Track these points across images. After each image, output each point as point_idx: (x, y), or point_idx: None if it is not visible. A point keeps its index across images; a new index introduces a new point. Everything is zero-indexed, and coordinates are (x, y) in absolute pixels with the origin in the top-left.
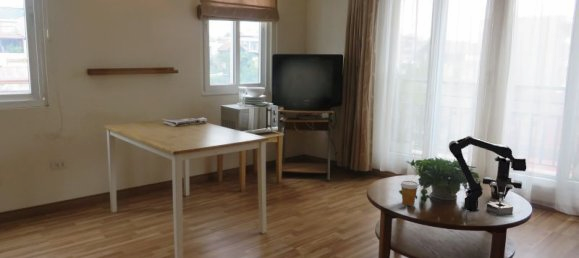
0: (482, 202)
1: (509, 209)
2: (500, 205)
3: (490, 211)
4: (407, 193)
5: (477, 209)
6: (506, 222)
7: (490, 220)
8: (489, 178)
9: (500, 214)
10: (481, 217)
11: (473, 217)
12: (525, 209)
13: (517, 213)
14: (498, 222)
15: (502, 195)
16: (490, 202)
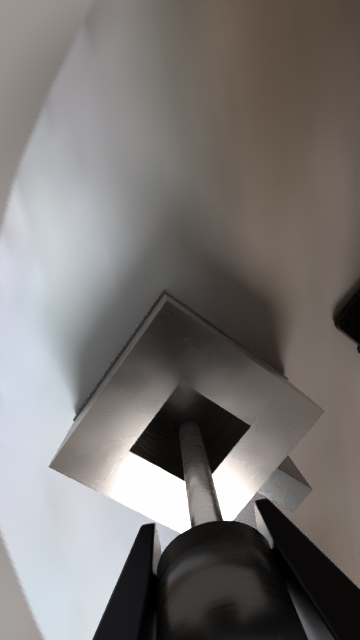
0: (334, 534)
1: (83, 412)
2: (182, 430)
3: (247, 349)
4: None
5: (353, 318)
6: (50, 130)
7: (197, 87)
8: None
9: (152, 310)
10: (288, 131)
11: (354, 74)
12: (32, 592)
13: None
14: (115, 71)
15: (180, 575)
16: (293, 476)
